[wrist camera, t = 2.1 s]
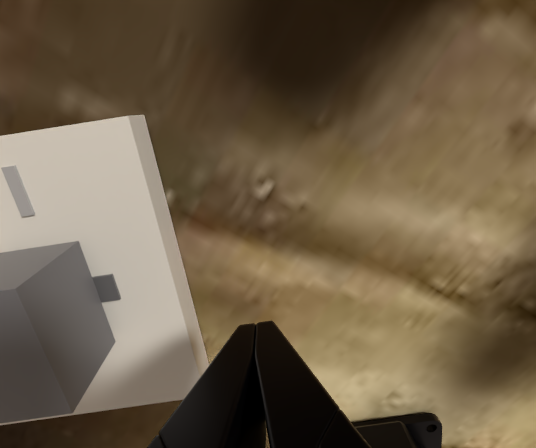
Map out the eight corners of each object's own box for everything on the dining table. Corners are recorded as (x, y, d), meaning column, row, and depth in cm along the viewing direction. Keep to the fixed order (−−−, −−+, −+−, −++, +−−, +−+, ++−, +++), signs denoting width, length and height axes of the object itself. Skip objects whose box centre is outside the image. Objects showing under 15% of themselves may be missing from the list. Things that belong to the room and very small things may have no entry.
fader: (115, 341, 12) (72, 413, 9) (35, 353, 12) (-33, 428, 9) (78, 240, 11) (15, 288, 8) (-12, 254, 11) (-106, 306, 8)
